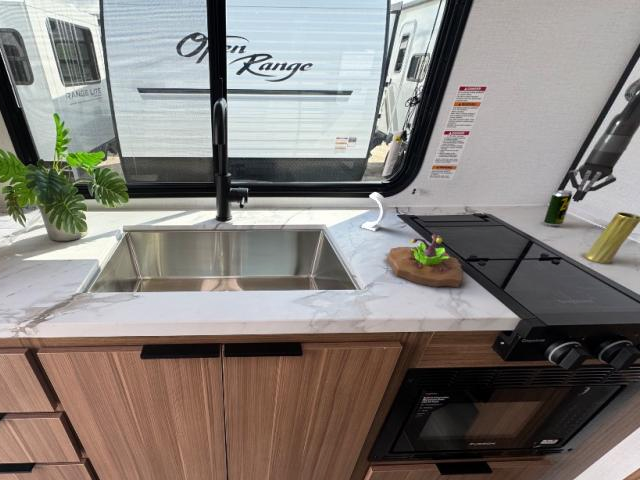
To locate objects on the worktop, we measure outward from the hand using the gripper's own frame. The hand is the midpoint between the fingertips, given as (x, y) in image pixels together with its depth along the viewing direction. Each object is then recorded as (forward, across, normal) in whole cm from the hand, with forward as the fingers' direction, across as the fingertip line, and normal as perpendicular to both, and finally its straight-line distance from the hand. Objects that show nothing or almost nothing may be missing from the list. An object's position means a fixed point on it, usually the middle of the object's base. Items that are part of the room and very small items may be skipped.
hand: (575, 201), depth 117 cm
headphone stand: (+11, +49, +54) cm, 74 cm away
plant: (+10, +24, +72) cm, 77 cm away
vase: (+10, -12, +25) cm, 29 cm away
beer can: (+10, +2, 0) cm, 10 cm away
